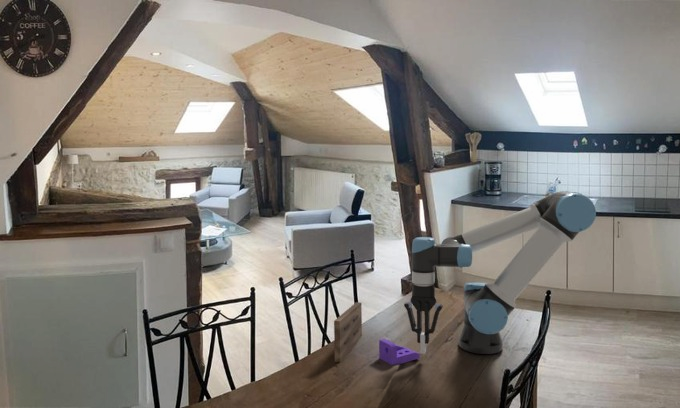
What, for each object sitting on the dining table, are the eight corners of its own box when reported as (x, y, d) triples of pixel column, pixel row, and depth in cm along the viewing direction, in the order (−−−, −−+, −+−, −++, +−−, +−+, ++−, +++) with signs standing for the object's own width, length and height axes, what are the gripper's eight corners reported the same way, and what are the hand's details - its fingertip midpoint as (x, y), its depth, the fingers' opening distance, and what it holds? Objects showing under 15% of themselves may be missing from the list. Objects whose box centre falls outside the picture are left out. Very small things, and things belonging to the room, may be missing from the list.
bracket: (392, 366, 163) (391, 345, 162) (379, 359, 169) (379, 339, 168) (419, 358, 169) (419, 338, 169) (406, 352, 175) (406, 333, 175)
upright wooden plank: (362, 339, 188) (361, 302, 187) (340, 362, 166) (340, 321, 165) (356, 338, 189) (356, 302, 188) (334, 361, 166) (334, 320, 165)
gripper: (444, 282, 168) (444, 350, 169) (406, 279, 172) (406, 346, 174) (441, 287, 161) (441, 358, 162) (401, 284, 165) (401, 354, 167)
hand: (423, 352), depth 168 cm, fingers closed
